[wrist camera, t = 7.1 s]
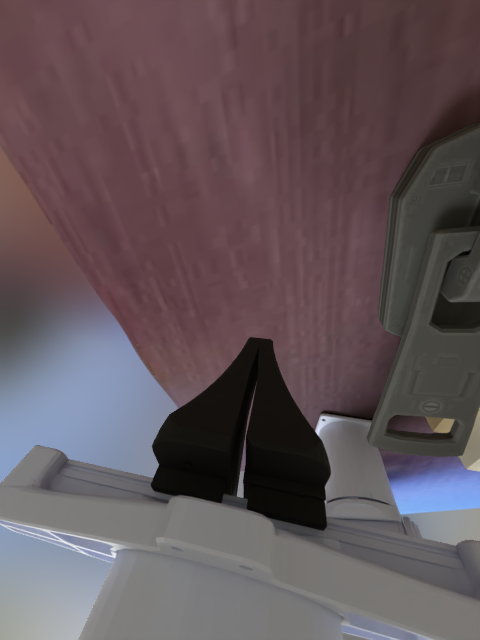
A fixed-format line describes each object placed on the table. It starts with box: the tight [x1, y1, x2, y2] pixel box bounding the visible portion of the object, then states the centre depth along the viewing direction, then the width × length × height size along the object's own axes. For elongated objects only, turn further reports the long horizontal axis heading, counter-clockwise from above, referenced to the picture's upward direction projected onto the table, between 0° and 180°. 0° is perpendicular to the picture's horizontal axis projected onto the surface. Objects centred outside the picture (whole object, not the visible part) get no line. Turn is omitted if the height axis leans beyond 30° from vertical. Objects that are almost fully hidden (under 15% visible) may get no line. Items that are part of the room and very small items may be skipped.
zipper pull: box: [367, 123, 480, 457], centre depth 17 cm, size 9×7×25 cm
